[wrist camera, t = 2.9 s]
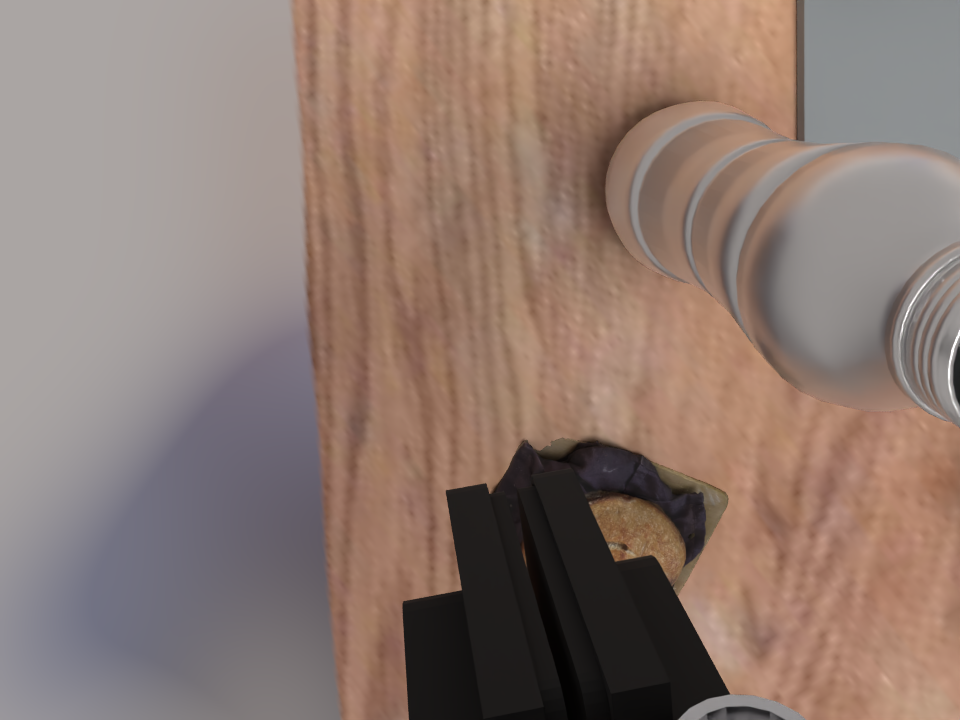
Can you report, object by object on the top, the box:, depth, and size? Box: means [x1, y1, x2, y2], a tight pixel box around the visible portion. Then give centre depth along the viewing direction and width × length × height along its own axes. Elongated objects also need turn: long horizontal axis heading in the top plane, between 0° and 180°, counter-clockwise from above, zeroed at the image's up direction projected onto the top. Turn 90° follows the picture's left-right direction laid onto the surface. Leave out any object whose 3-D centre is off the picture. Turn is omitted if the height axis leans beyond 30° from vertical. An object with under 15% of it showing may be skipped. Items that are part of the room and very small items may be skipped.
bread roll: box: [494, 438, 728, 596], centre depth 38 cm, size 11×8×4 cm
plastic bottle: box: [605, 101, 960, 428], centre depth 25 cm, size 6×7×20 cm
